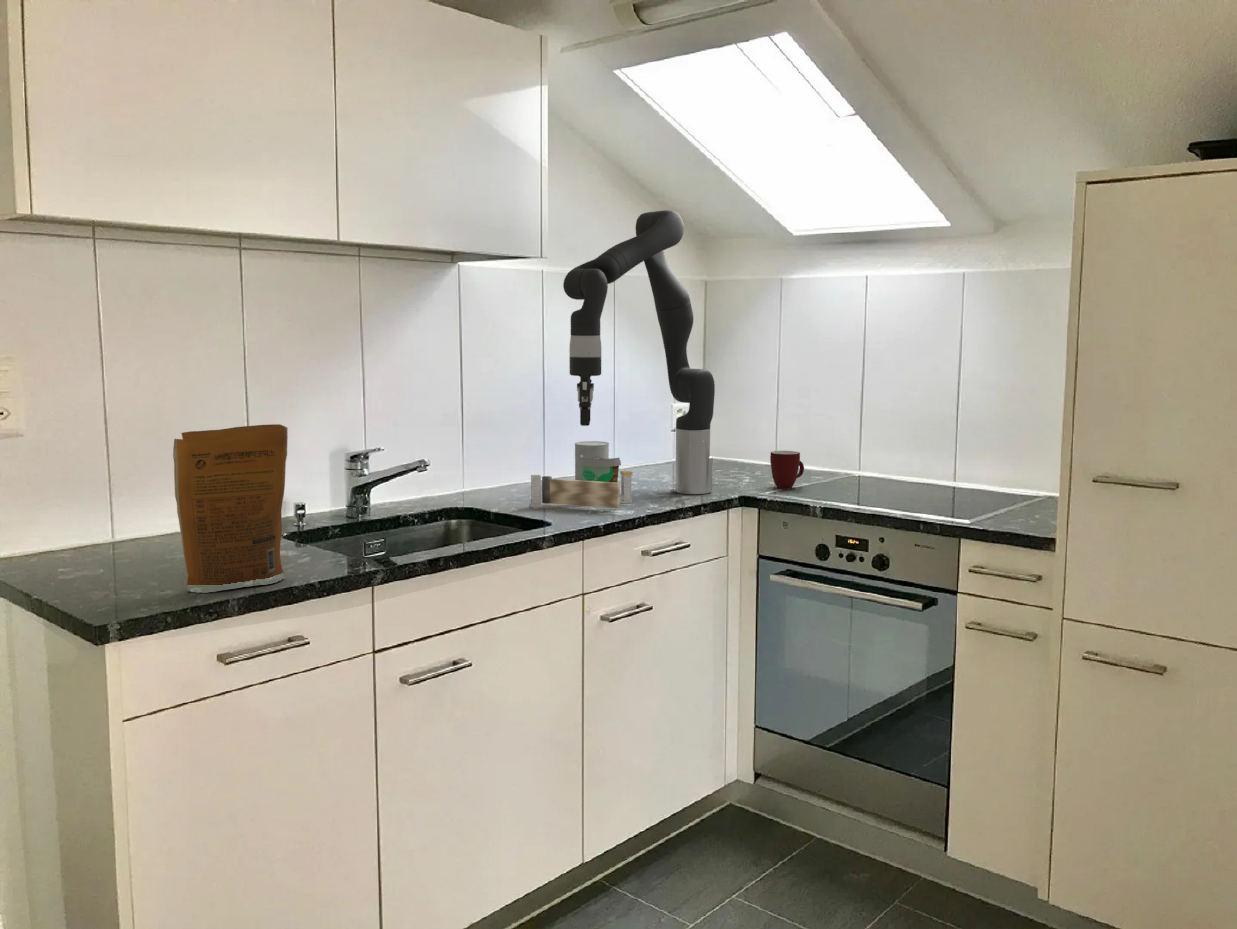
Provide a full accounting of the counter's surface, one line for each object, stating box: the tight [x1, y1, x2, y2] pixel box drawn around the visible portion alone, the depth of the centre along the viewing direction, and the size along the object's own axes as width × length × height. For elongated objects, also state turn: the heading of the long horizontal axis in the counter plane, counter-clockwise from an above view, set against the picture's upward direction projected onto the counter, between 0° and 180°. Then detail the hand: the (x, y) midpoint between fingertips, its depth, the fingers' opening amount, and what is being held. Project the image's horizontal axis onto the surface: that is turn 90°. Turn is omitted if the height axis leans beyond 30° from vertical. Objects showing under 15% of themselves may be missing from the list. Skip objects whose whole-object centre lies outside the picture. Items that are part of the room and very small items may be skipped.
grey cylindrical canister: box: [574, 440, 610, 481], centre depth 278 cm, size 10×10×12 cm
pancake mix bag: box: [172, 423, 289, 586], centre depth 171 cm, size 7×19×28 cm, turn 123°
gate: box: [541, 475, 621, 509], centre depth 245 cm, size 20×2×6 cm, turn 70°
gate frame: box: [528, 470, 634, 510], centre depth 251 cm, size 26×4×8 cm, turn 110°
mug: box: [769, 450, 805, 490], centre depth 277 cm, size 11×8×10 cm
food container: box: [578, 455, 622, 483], centre depth 266 cm, size 12×6×10 cm, turn 62°
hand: (585, 423), depth 237 cm, fingers open, 8 cm apart
